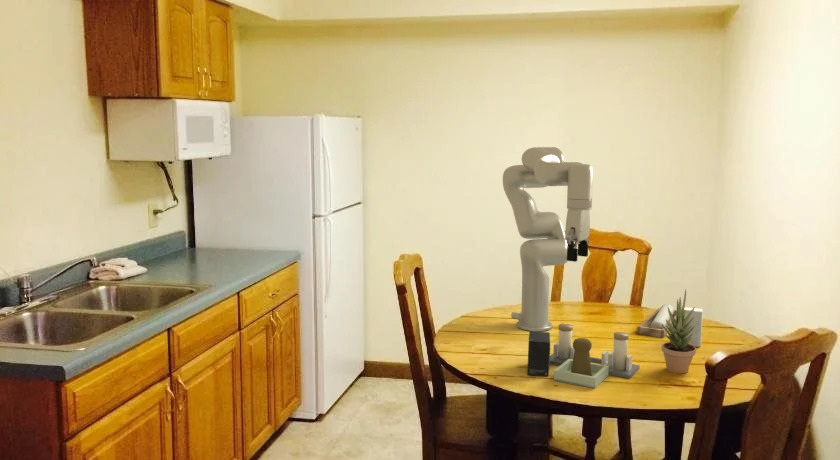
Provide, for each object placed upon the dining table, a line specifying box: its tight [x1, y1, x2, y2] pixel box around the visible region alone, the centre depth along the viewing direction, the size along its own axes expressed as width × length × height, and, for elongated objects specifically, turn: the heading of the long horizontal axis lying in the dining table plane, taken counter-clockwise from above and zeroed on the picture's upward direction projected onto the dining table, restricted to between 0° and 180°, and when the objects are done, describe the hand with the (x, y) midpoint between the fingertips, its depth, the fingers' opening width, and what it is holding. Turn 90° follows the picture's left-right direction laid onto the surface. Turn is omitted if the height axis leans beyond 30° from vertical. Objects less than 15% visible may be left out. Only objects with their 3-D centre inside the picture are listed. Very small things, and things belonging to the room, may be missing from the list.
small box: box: [526, 331, 551, 377], centre depth 215 cm, size 11×6×10 cm, turn 170°
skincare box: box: [684, 306, 704, 348], centre depth 240 cm, size 6×4×12 cm
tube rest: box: [636, 307, 677, 338], centre depth 263 cm, size 9×30×2 cm, turn 148°
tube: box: [650, 303, 675, 329], centre depth 263 cm, size 5×5×25 cm
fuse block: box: [549, 323, 641, 380], centre depth 219 cm, size 26×10×11 cm, turn 58°
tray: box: [553, 359, 609, 390], centre depth 209 cm, size 12×12×3 cm
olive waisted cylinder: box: [571, 337, 593, 376], centre depth 208 cm, size 6×6×11 cm
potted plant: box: [661, 288, 697, 374], centre depth 214 cm, size 10×10×25 cm
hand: (577, 258), depth 228 cm, fingers open, 9 cm apart
